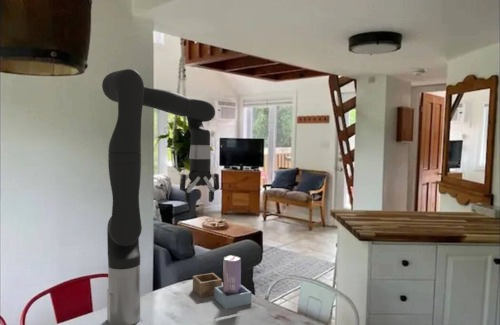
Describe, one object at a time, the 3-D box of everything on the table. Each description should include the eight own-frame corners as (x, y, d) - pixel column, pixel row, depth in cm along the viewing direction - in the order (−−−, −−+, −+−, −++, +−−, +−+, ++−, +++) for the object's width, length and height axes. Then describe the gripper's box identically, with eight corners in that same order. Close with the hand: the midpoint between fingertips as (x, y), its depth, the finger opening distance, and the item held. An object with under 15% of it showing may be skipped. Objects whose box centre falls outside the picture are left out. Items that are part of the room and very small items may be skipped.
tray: (225, 311, 122) (225, 297, 122) (214, 300, 131) (214, 287, 130) (251, 305, 127) (251, 292, 126) (238, 295, 135) (239, 283, 135)
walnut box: (200, 300, 131) (200, 283, 130) (192, 292, 138) (192, 275, 137) (221, 296, 134) (221, 279, 134) (213, 288, 141) (213, 272, 141)
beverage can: (241, 298, 131) (241, 255, 130) (239, 305, 125) (239, 261, 124) (224, 297, 132) (224, 255, 131) (221, 304, 126) (222, 260, 125)
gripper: (184, 158, 129) (183, 205, 130) (222, 158, 136) (221, 202, 137) (177, 157, 136) (177, 201, 137) (214, 157, 143) (214, 199, 143)
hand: (199, 202), depth 137 cm, fingers open, 8 cm apart
